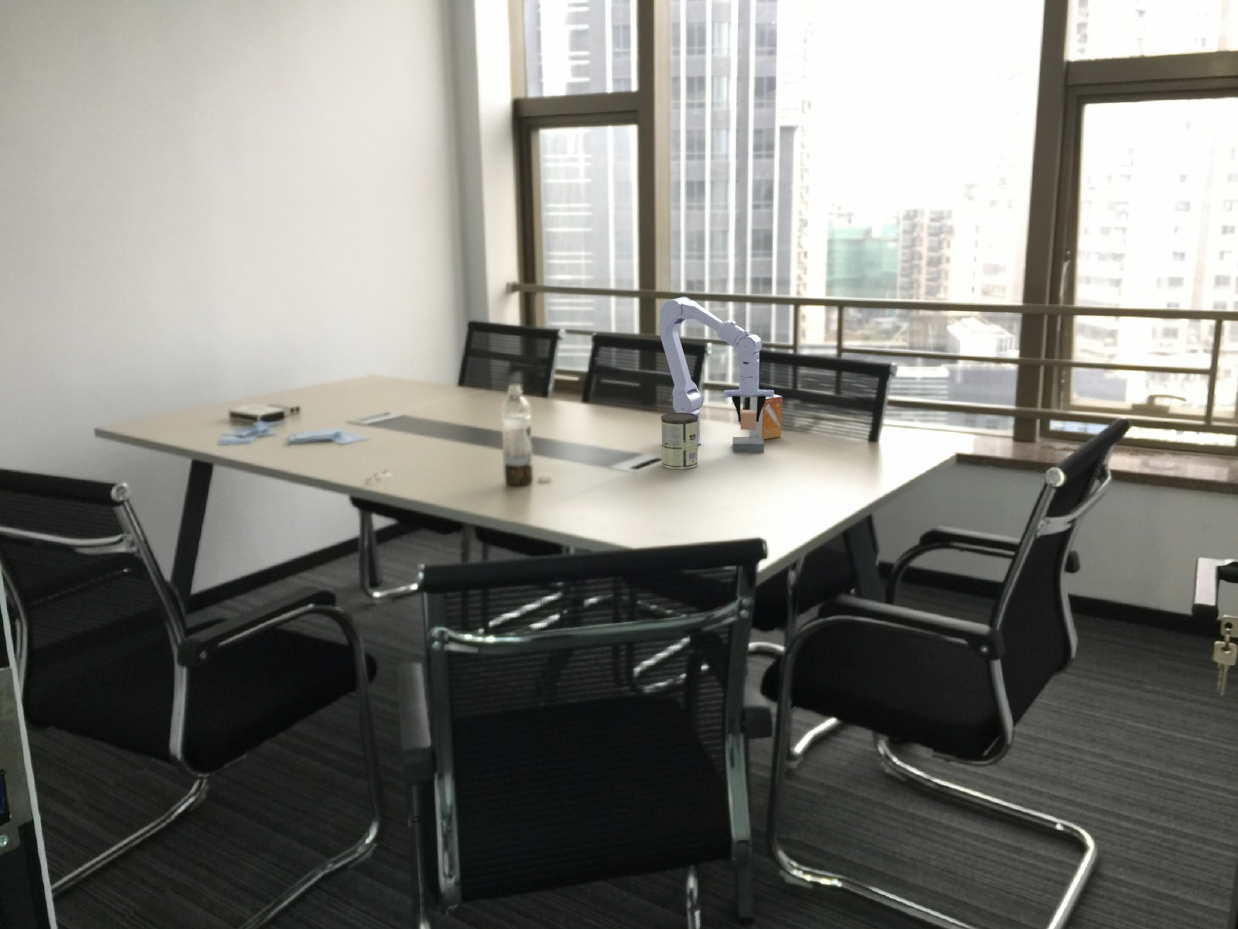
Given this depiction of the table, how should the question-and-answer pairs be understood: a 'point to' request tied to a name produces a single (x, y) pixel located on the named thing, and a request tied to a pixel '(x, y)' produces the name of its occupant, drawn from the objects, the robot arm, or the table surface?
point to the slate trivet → (748, 444)
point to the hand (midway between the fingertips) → (748, 421)
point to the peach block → (748, 419)
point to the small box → (768, 418)
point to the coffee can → (679, 440)
